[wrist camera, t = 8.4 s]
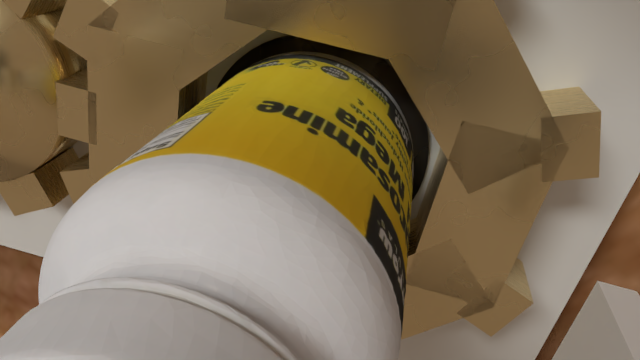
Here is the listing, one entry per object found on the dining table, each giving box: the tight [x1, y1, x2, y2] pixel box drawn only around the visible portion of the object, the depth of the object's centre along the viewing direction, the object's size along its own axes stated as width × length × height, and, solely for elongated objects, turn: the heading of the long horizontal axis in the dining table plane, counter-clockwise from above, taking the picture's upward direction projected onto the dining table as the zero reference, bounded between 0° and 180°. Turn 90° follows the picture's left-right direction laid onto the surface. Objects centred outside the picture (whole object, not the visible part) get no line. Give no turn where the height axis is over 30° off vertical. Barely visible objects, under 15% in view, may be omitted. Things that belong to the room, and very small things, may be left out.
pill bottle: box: [0, 51, 414, 360], centre depth 11 cm, size 6×6×11 cm
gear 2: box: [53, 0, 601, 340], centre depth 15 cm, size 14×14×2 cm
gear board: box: [0, 0, 640, 360], centre depth 17 cm, size 15×24×1 cm, turn 79°
